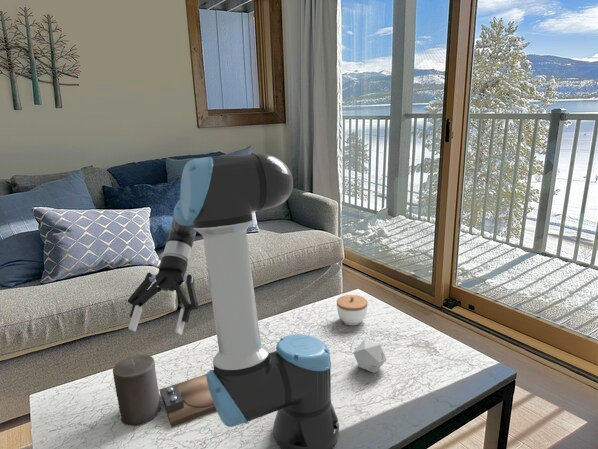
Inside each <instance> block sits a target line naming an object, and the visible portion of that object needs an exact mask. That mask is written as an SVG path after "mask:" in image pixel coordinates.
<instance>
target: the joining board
mask: <svg viewBox="0 0 598 449" xmlns="http://www.w3.org/2000/svg"><path fill="white" fill-rule="evenodd" d="M206 374H207V373H205V374H203V375H199V376H196V377H194V378H190V379H187V380H185V381H181V382H179V383H175V384H173V385H169V386H166V387H163V388H160V389H159V396H160V397H161V398H160V399H161V401H162V404H163V407H164V410H165V413H166V415H167V418H168V421H169V424H170V426H171V428H173V427H176V426H179V425H182V424H184V423H187V422H189V421H192V420H195V419H197V418H200V417H203V416H205V415H207V414H211V413H213V412H217V410H216V408H215V405H214V403H213V400H212V397H211V394H210V391H209V388H208V384H207V377H206ZM176 385H177V387H178V389H179V392H180V394H181V396H182V399H183V403H184V408H181V409H178V410H175V411H173V412H170V413H168V412H167V410H166V407H165V404H164V401H163V398H162V393H161V390H164V389H167V388H168V387H170V386H172V387H173V386H176Z"/></svg>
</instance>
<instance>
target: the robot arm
mask: <svg viewBox="0 0 598 449" xmlns="http://www.w3.org/2000/svg"><path fill="white" fill-rule="evenodd" d="M293 179H294V178H293V175H292V171H291V169H289V167H288V166H287V164H286V163H284V161H282V160H281V159H279V158H277V157H276V156H274V155H270V154H267V153H248V154H236V155H235V154H233V155H216V156H215V155H214V156H207V157H200V158H193V159H190V160H188V161H187V162H186V164H185V165H184V167H183V170H182V174H181V181H180V199H179V200H178V201H177V202H176V204H175V206H174V209H173V213H172V221H171V226H170V229H169V234H168V237H167V240H166V242H165V246H164V250H163V253H162V257H161V260H160V263H159V267H158V272H157V274H152V273H151V272H147V273H146V275H145V278H144V280H142V281H141V283H140V284H139V285H138V287H137V288H136V289H135V290H134V292H132V294H131V295H130V296H129V298H128V299H127V303H128V304H130V305H132V308H131V310H130V313H129V317H130V318H131V319H130V322H129V325H128V327H127V328H128V330H129V331H132V332H136V331H137V329H138V325H139V322H140V319H141V316H142V312H143V307H142V306H144V304H146V303H147V302H148V301H149V300H150V299H152V298H153V297H154V296H156V294H157V293H160V292H161V291H164V292H166V291H169V292H174V291H175V293H176V294H177V296H178V298H179V300H180V303H181V304H182V306H183V308H182V307H181V308H180V310H179V316H178V318H177V323H176V328H175V330H174V333H175V334H177V335H178V336H182V335H183V333H184V327H185V323H189V320H190V316H191V313H192V311H194V310H198V309H199V308H200V307H199V303H198V298H197V293H196V290H195V285H194V284H195V278H194V277H193V276H192V274H187V275H186V272H187V268H188V264H189V263H188V262H189V260H190V257H191V253H192V249H193V245H194V242H195V238H196V234H197V233H199V235H201V237H202V239H203V245H204V247H203V248H204V254H205V260H206V268H207V275H208V280H209V289H210V295H211V302H212V310H213V317H214V323H215V324H214V326H215V332H216V338H217V346H218V351H217V353H216V354H215V355H214V357H213V358H212V365H213V369H209V371H207V372H206V373H205V374H206V377H207V384H208V388H209V391H210V394H211V397H212V400H213V403H214V405H215V408H216V412H217V414H218V417H219V419H220V421H221V422H222V423H223V424H224V426H227V427H229V428H233V427H236V426H239V425H242V424H248V423H249V422H251V421H253V420H256V419H259V418H261V417H264V416H267V415H270V414H272V413H275V412H276V416H275V419H274V420H273V421H274V422H273V437H274V441H275V443H276V444H277V445H278V447H279V448H280V449H332V448H333V447H334V446H335V445H336V443H337V442H338V439H339V436H340V435H339V434H340V423H339V418H338V416H337V413H336V410H335V408H334V406H333V404H332V382H331V380H332V378H331V377H332V376H331V372H332V370H331V368H332V362H331V360H332V359H331V356H330V354H331V353H330V349H329V347H328V345H327V344H326V343H324V341H322V340H321V339H319V338H317V337H315V336H312V335H307V334H303V333H301V334H289V335H286V336H283V337H281V338H280V340H278V341H277V344H276V346H275V351H271V352H270V350H269V348H268V347H267V346H266V345H264V344H262V343H261V335H260V334H261V333H260V328H259V319H258V312H257V305H256V296H255V289H254V281H253V275H252V274H253V272H252V267H251V266H252V265H251V258H250V250H249V242H248V234H247V230H248V228H249V227H250V226H251V224H252V223H253V222H254V220H253V213H255V212H259V211H263V210H264V211H265V210H267V209H268V210H269V209H273V208H275V207H278V206H280V205H282V204H284V203H285V202H287V200H288V199H289V198H290V196H291V194H292V192H293V188H294V180H293ZM183 283H186V288H187V293H188V297H189V300H188V298H187V296H186V295H185V293H184V289H183V288H182V286H181V285H182V284H183ZM189 301H190V302H189Z"/></svg>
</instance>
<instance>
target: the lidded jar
mask: <svg viewBox="0 0 598 449" xmlns="http://www.w3.org/2000/svg"><path fill="white" fill-rule="evenodd" d="M368 304H369V303H368V300H367V298H365V297H363V296H360V295H357V294H356V295H355V294H345V295H342V296H339V297H337V300H336V308H337V309H336V310H337V315H338V317H339V318H340V320H341V321H342V322H343V323H344V324H345V325H348V326H357V325H360V324H361V322H363V321H364V320H365V319H366V316H367V312H368Z"/></svg>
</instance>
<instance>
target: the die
mask: <svg viewBox="0 0 598 449" xmlns="http://www.w3.org/2000/svg"><path fill="white" fill-rule="evenodd" d="M353 356H354V358H355V361H356V362H357V365H358V368H361V369H363V370H365V371H368V372H371V373H372V374H376V373H377V372H378V371H379V370H380V368H382V366H383V365H384V363H385V362H386V361H387V357H386V355H385V352H384V350H383V348H382V346H381V344H380V343H376V342H374V341H371V340H367V339H363V340H362V342H361V343H360V344H359V345H358V346H357V347H356V348H355V350H353Z"/></svg>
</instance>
